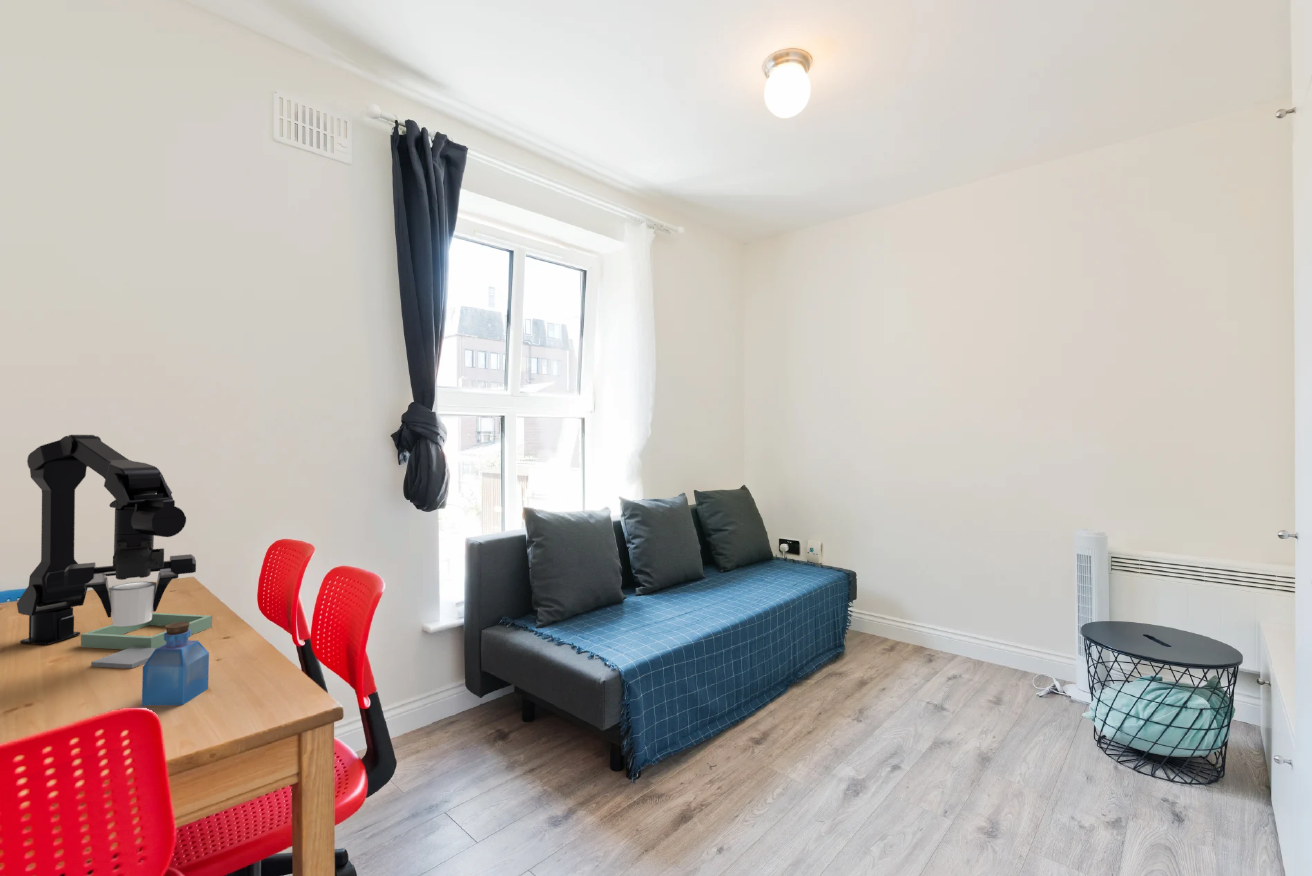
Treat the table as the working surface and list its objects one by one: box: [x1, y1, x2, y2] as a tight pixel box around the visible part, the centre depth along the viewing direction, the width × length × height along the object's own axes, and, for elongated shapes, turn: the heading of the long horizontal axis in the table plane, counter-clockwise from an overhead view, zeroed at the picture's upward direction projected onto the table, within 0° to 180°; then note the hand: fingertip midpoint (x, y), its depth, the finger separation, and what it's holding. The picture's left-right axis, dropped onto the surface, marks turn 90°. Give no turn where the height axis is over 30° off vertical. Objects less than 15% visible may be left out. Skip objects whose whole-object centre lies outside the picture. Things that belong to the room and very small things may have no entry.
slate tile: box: [90, 647, 157, 669], centre depth 115 cm, size 8×8×1 cm
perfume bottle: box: [141, 622, 210, 706], centre depth 100 cm, size 6×6×12 cm
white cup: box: [109, 580, 157, 627], centre depth 115 cm, size 7×7×7 cm
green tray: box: [80, 612, 213, 650], centre depth 128 cm, size 15×15×2 cm
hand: (132, 614), depth 115 cm, fingers closed on white cup, 6 cm apart
